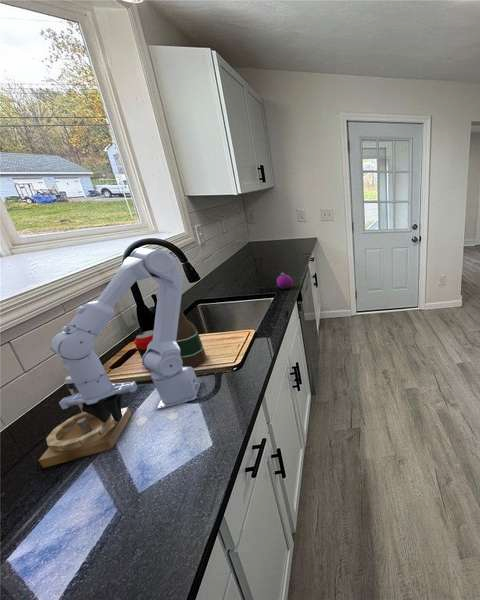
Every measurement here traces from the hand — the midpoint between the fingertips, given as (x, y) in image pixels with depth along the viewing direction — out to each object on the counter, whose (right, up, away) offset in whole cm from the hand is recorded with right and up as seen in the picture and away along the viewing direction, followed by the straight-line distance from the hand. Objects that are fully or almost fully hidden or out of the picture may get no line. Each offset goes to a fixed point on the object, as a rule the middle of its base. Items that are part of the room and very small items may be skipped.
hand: (114, 420), depth 80 cm
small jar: (-15, -1, +10) cm, 18 cm away
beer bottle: (+1, +9, +30) cm, 32 cm away
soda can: (-12, +8, +31) cm, 34 cm away
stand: (-5, -4, -1) cm, 7 cm away
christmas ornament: (+9, +42, +94) cm, 103 cm away
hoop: (-5, -1, -2) cm, 6 cm away
